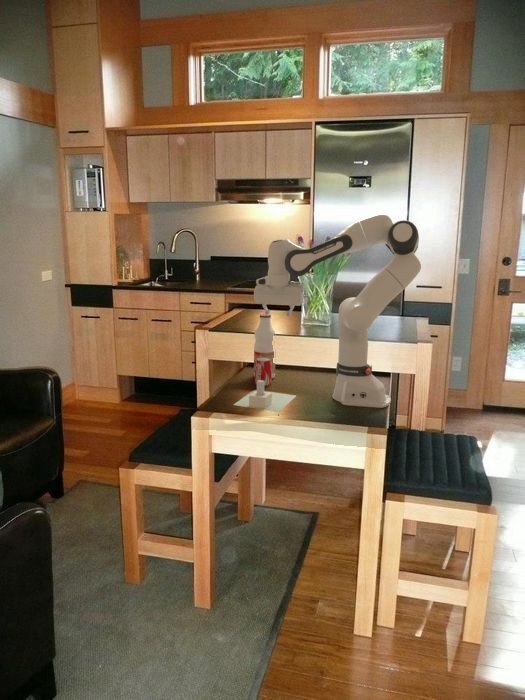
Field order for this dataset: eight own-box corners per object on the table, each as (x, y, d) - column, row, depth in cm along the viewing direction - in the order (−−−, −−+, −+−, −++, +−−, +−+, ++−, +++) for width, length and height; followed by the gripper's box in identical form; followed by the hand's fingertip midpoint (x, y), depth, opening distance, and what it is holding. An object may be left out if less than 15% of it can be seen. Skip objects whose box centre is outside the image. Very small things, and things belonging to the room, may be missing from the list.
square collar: (271, 403, 206) (271, 392, 205) (265, 408, 200) (265, 397, 199) (255, 400, 208) (255, 390, 207) (249, 405, 202) (249, 395, 201)
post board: (296, 399, 215) (297, 373, 212) (278, 415, 197) (279, 387, 194) (253, 393, 221) (254, 368, 219) (233, 408, 203) (233, 381, 201)
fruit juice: (269, 380, 239) (270, 317, 232) (250, 378, 243) (250, 315, 236) (278, 375, 247) (279, 313, 241) (259, 372, 251) (260, 311, 244)
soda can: (271, 389, 227) (272, 361, 224) (254, 389, 227) (254, 360, 224) (271, 384, 234) (272, 356, 231) (254, 384, 234) (255, 356, 231)
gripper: (306, 281, 219) (304, 315, 223) (258, 278, 227) (257, 311, 230) (301, 282, 214) (300, 317, 217) (252, 280, 221) (252, 314, 224)
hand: (278, 314), depth 223 cm, fingers open, 8 cm apart
